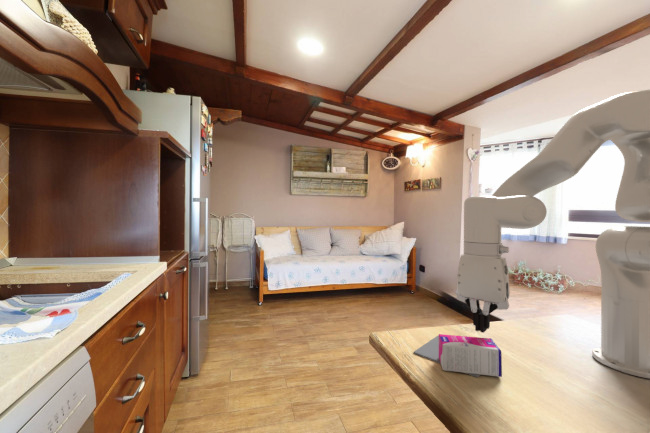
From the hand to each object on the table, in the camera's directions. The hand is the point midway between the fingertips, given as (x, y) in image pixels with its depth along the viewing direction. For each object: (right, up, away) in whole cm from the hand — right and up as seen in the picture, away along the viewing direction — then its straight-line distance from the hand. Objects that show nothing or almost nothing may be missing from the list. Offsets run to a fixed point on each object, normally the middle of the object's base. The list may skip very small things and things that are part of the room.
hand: (481, 329), depth 64 cm
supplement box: (+1, -4, -4) cm, 6 cm away
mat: (-4, -8, +4) cm, 10 cm away
